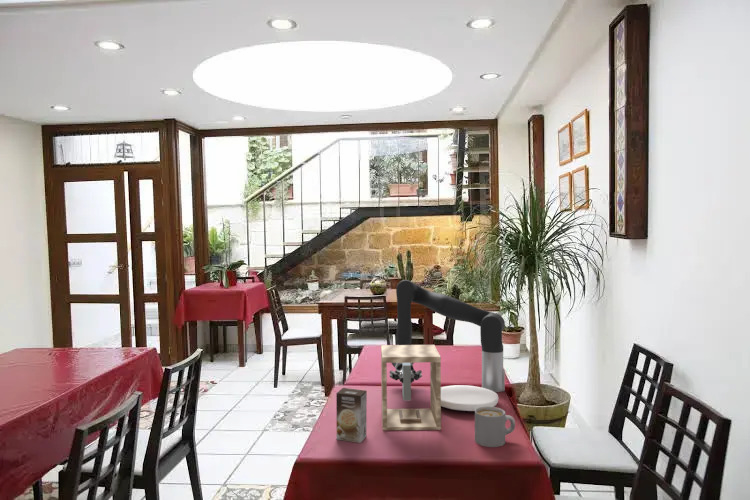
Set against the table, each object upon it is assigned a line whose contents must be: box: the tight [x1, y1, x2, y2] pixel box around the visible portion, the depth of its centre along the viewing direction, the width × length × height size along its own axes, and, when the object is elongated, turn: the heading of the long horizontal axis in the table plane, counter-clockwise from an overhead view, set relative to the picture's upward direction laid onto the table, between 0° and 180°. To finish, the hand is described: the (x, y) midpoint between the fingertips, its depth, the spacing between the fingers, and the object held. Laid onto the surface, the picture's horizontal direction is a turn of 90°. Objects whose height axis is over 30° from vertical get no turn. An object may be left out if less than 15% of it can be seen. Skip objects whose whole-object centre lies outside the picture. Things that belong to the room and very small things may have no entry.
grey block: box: [401, 363, 412, 402], centre depth 210 cm, size 3×6×14 cm, turn 0°
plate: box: [441, 384, 499, 412], centre depth 213 cm, size 28×6×27 cm
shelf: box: [380, 344, 442, 431], centre depth 195 cm, size 20×19×26 cm
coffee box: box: [335, 387, 368, 444], centre depth 179 cm, size 9×6×16 cm
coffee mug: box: [474, 406, 516, 448], centre depth 176 cm, size 13×10×10 cm
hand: (407, 380), depth 208 cm, fingers closed on grey block, 3 cm apart
